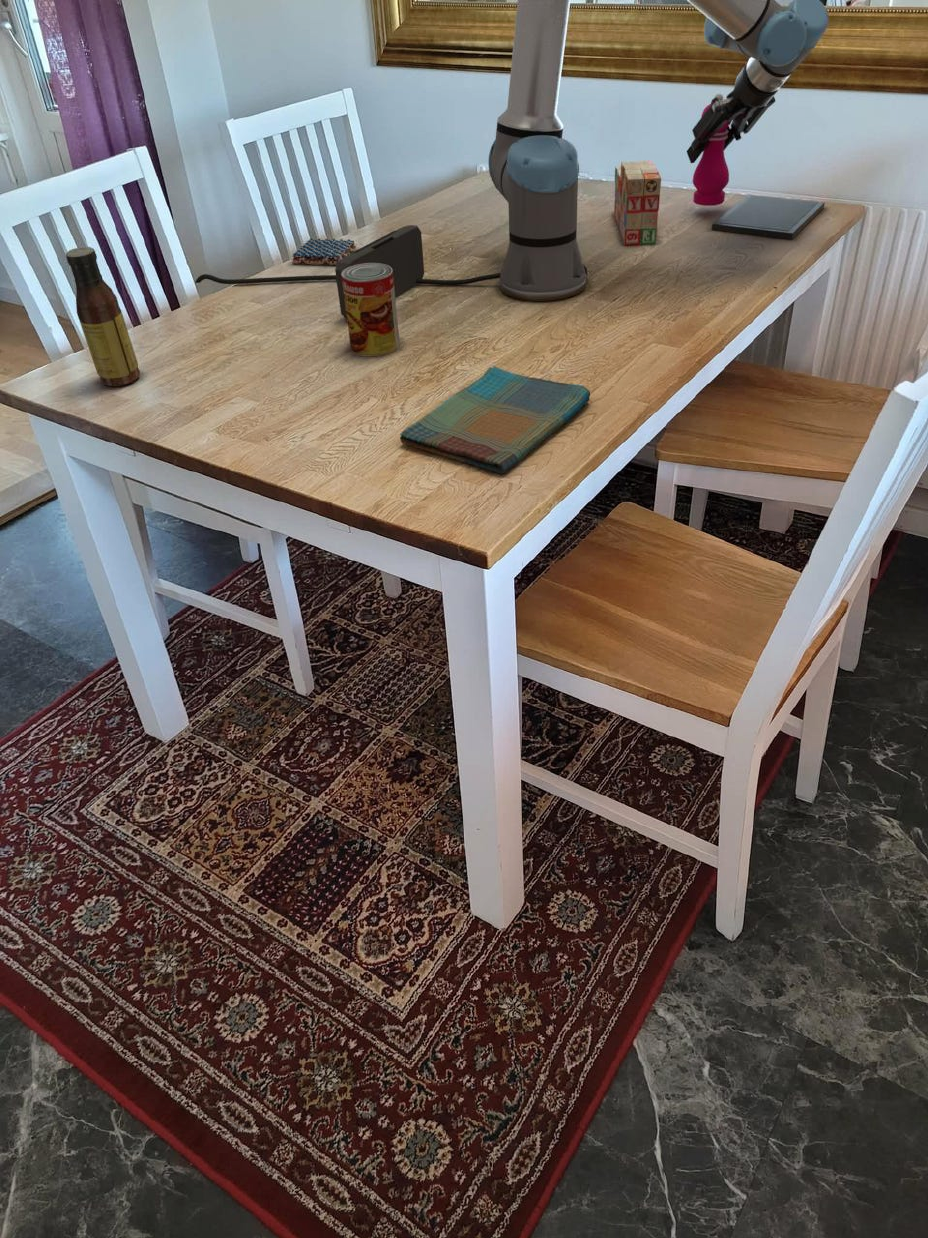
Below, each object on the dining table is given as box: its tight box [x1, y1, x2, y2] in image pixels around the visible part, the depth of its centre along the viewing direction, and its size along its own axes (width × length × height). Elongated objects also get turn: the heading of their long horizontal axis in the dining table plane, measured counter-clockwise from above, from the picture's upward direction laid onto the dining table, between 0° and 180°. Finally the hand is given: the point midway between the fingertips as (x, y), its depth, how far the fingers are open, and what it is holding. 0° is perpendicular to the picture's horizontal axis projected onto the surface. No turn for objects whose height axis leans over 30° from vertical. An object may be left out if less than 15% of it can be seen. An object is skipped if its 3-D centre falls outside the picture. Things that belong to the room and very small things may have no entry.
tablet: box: [711, 194, 826, 241], centre depth 196 cm, size 22×16×1 cm
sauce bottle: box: [65, 246, 141, 387], centre depth 144 cm, size 7×6×20 cm
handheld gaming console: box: [334, 224, 425, 320], centre depth 169 cm, size 23×3×10 cm, turn 149°
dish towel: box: [399, 365, 591, 474], centre depth 132 cm, size 17×23×2 cm
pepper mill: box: [692, 93, 732, 207], centre depth 195 cm, size 7×7×20 cm
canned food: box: [341, 263, 401, 357], centre depth 152 cm, size 8×8×12 cm
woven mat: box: [291, 238, 357, 266], centre depth 191 cm, size 10×11×2 cm
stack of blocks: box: [613, 160, 662, 246], centre depth 193 cm, size 21×6×12 cm, turn 179°
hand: (702, 154), depth 199 cm, fingers closed on pepper mill, 5 cm apart
